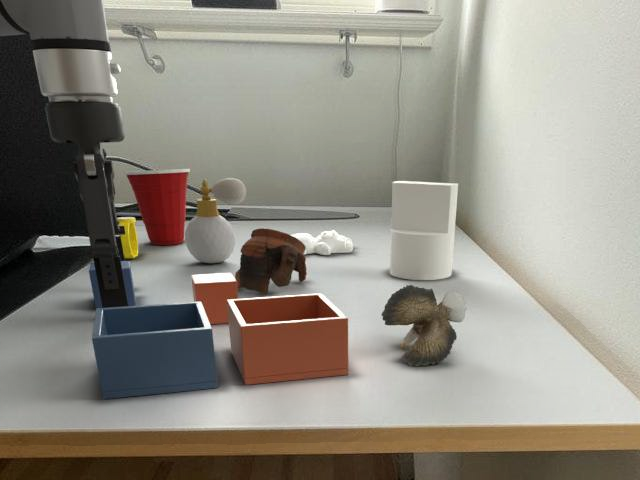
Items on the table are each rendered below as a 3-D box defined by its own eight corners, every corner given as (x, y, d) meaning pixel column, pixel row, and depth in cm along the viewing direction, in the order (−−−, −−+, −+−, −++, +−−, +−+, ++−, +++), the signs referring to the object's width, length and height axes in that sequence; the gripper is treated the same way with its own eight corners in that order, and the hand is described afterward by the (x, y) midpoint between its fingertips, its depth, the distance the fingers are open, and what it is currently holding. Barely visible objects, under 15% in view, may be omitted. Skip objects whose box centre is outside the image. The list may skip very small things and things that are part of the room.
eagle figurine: (382, 322, 69) (361, 330, 61) (424, 265, 66) (408, 265, 58) (439, 368, 69) (426, 382, 61) (483, 312, 66) (476, 319, 58)
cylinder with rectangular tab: (459, 270, 98) (466, 181, 92) (439, 282, 91) (446, 187, 85) (403, 264, 101) (406, 179, 95) (379, 276, 94) (381, 184, 88)
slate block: (97, 300, 81) (90, 262, 79) (135, 297, 82) (129, 260, 80) (95, 309, 78) (88, 270, 75) (135, 306, 79) (129, 268, 76)
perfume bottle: (190, 257, 105) (181, 174, 99) (252, 256, 106) (246, 174, 100) (185, 267, 98) (174, 179, 93) (250, 266, 99) (244, 179, 94)
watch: (137, 261, 102) (130, 220, 99) (118, 261, 102) (111, 220, 99) (144, 254, 107) (138, 215, 104) (126, 254, 107) (120, 215, 104)
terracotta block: (195, 314, 76) (190, 274, 74) (234, 311, 77) (231, 272, 75) (199, 325, 72) (194, 283, 70) (240, 322, 73) (236, 281, 71)
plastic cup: (180, 235, 124) (172, 164, 118) (209, 243, 117) (201, 168, 111) (124, 241, 118) (112, 167, 112) (151, 250, 110) (139, 171, 105)
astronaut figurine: (352, 255, 107) (352, 236, 106) (278, 255, 107) (277, 235, 106) (353, 246, 115) (353, 227, 113) (284, 245, 115) (284, 227, 113)
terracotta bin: (231, 352, 64) (226, 299, 62) (322, 344, 67) (321, 293, 64) (245, 385, 57) (240, 326, 54) (348, 374, 59) (348, 318, 56)
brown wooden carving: (219, 288, 89) (234, 228, 89) (279, 312, 94) (294, 255, 94) (257, 281, 79) (274, 214, 79) (322, 308, 84) (338, 245, 84)
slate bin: (106, 363, 61) (96, 308, 59) (207, 354, 64) (201, 301, 61) (103, 399, 54) (91, 338, 51) (218, 387, 56) (212, 328, 53)
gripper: (117, 97, 60) (153, 327, 70) (120, 102, 81) (147, 279, 91) (28, 97, 58) (78, 333, 68) (54, 102, 79) (90, 282, 89)
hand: (118, 303), depth 80 cm, fingers open, 13 cm apart
